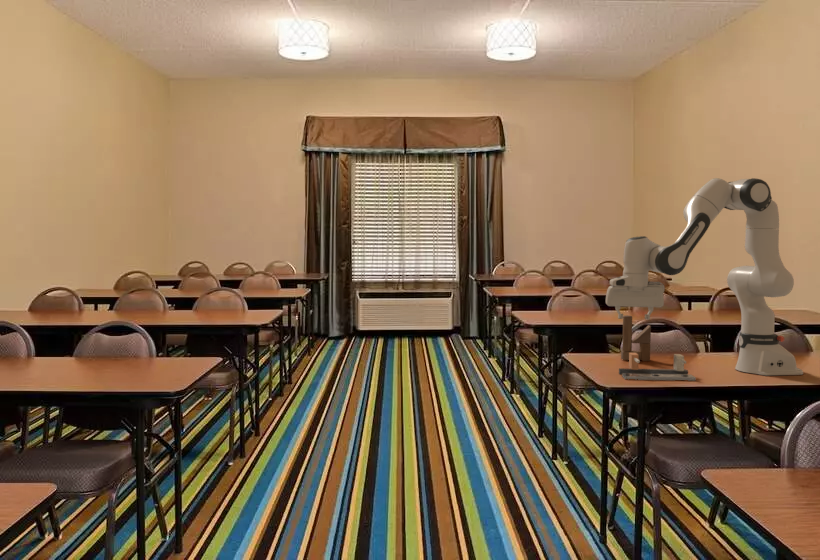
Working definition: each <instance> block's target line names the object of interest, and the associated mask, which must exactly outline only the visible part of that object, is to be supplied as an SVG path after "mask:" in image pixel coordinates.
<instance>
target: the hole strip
mask: <svg viewBox="0 0 820 560" xmlns="http://www.w3.org/2000/svg"><path fill="white" fill-rule="evenodd" d="M621 375H622V376H621V377H622V378H623V379H624V380H626V379H628V381H630V380H629V379H635V380H634V381H675V380H688V381H687V382H696V378H697V377H695V376H694V375H693V374H691V373H690V374H631V373H622V374H621ZM637 379H638V380H637Z"/></svg>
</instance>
